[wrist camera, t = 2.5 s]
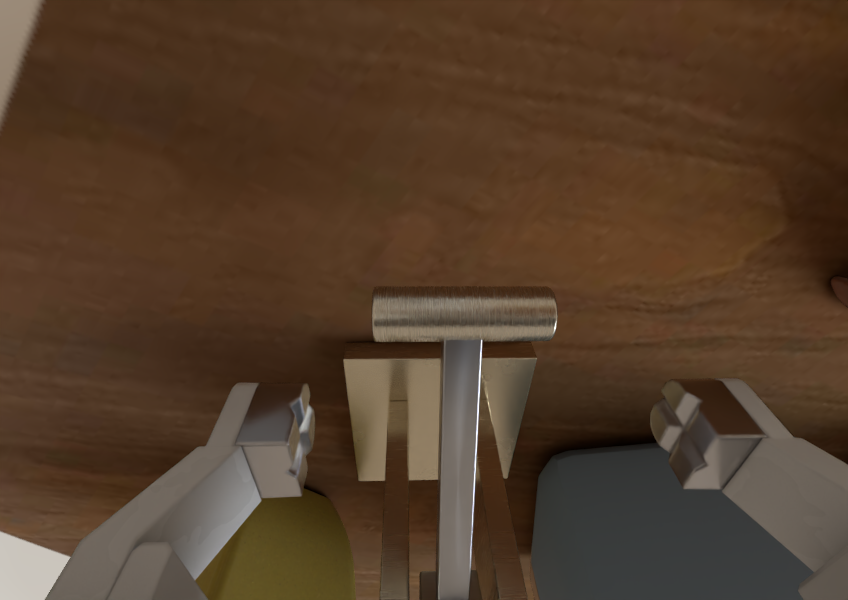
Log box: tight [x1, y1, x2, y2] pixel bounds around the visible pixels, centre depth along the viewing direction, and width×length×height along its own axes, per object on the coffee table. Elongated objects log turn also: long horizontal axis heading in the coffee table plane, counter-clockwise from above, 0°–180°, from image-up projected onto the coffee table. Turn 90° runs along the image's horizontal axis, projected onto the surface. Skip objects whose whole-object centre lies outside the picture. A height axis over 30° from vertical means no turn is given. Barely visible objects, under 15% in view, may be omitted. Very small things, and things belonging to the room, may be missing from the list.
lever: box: [372, 286, 558, 600], centre depth 14 cm, size 14×5×2 cm, turn 179°
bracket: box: [343, 342, 537, 600], centre depth 19 cm, size 10×9×12 cm
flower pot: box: [195, 488, 356, 600], centre depth 25 cm, size 9×9×9 cm
